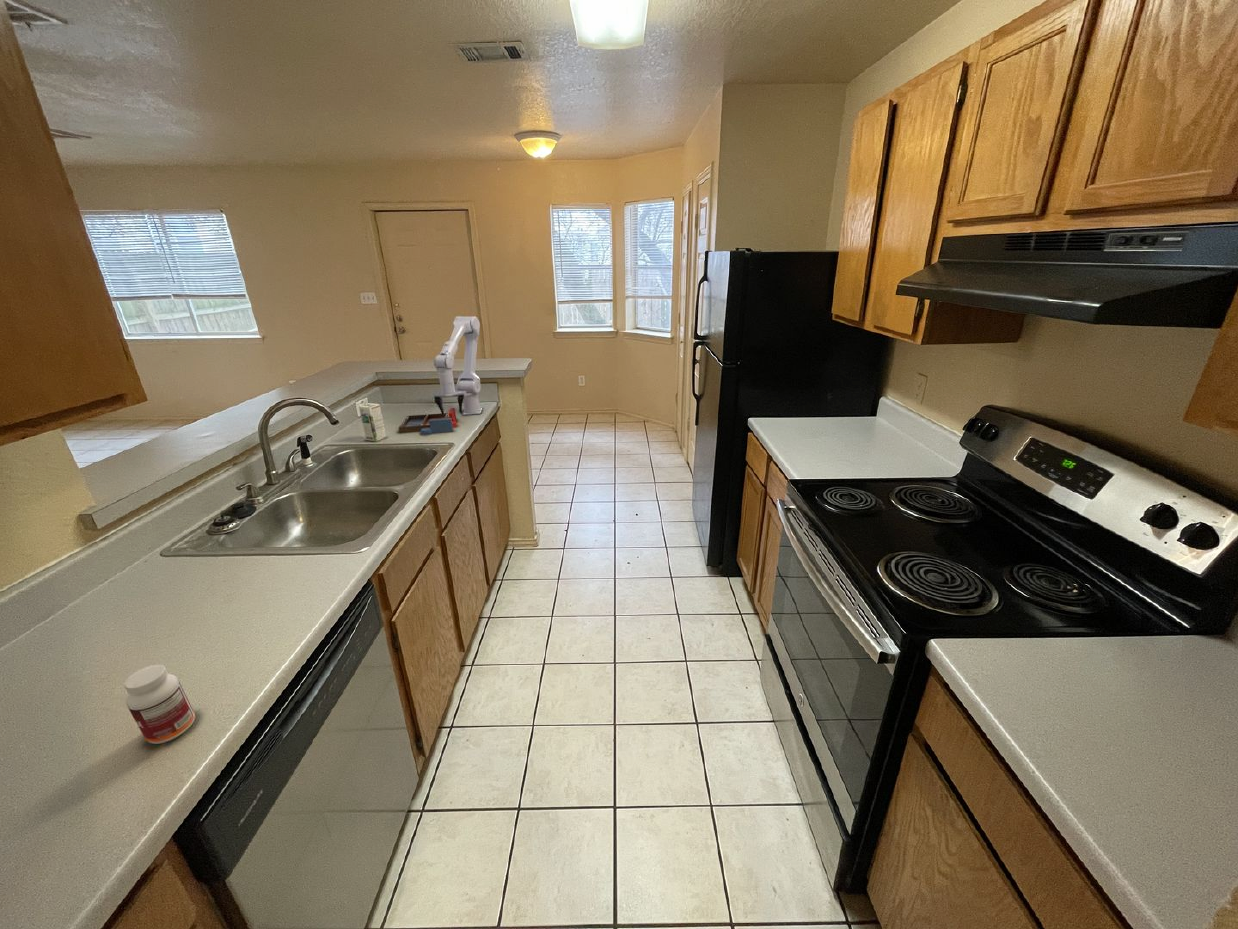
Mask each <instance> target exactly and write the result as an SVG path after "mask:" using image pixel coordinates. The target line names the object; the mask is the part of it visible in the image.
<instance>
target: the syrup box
mask: <svg viewBox="0 0 1238 929" xmlns="http://www.w3.org/2000/svg"><path fill="white" fill-rule="evenodd" d="M358 409H359V414H360V418H361V423H362V427H363V428H362V429H363V431H364V437H365V440H366V441H370V442H378V441H381V440H383V439H385V438H387V433H386V429H385V424H384V419H383V414H382V410H381V405H380V403H372V402H369V403H363V404H361V405H358Z"/></svg>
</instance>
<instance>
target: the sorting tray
mask: <svg viewBox="0 0 1238 929" xmlns="http://www.w3.org/2000/svg"><path fill="white" fill-rule="evenodd" d="M448 413H449V412H444V414H442V413H441V412H440V413H428V414H427V413H425V414H415V415H407V416H406V417H405V419H403V421H402V422H401V424H400V425H399V426H398V430H399V434H403V433H404V434H405V433H415V432H416V433H418V432H421V429H423V428H430V425H429V420H433V419H446V418H449V414H448Z"/></svg>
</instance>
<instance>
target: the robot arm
mask: <svg viewBox="0 0 1238 929" xmlns="http://www.w3.org/2000/svg"><path fill="white" fill-rule="evenodd" d="M480 327H481V322H480V321H479V319H478V317H477V316H475V315H474V316H459V315H457V316H455V318H454V320H453V331H452V333H451V335H450V338H449V340H447V341H445V342H444V344H443V346H442V349H441V350H440V353H439V354H437V355H435V357H434V359H433V366H434V367H435V369H436V372H437V373H438V380H439V384H440V385H439V386H440V390H441V391H440V392H433V393H431V394H430V396H431V400H432V399H434V400H433V401H434V402H435V404H436V406H437V407H438V408H439V410H440V413H442V414H444V413H445V410H444V406H443V399H444V398H456V397H457V399H456V400H457V403H458V411H459V414H462V415H463V416H467V415H470V416H471V415H480V414H481V413H482V407H481V406H480V401H479V394H480V392H481V388H482V386H481V378H480V377H479V376H478V375H477V374H476V366H477V353H478V352H477V350H478V338H479V336H480ZM462 337H464V338H465V346H464V358H463V369H462V370H463V371H462V373H461V374H459V375H458V378H457V382H456V384H455V381H454V374H453V369H452V368H453V367H454V365H455V356H456V354H457V352H458V351H459V345H458V344H459V342H460V340H462ZM455 385H456V387H455Z"/></svg>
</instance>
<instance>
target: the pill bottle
mask: <svg viewBox="0 0 1238 929" xmlns="http://www.w3.org/2000/svg"><path fill="white" fill-rule="evenodd" d="M123 686H124V688H125V690H126V692H127V693H128V694H127V695H126V698H125V705H126V707H127V709H128V710H129V713H130V714H131V716H132V718H133V719H134V722H135V723H136V724H137V727H138V729H139V730H140V732H141V734H142V735H143V738H144V739H145V741H146V742H148V743H149V744H154V745H159V744H164V743H167V742H170V741H172V740H174V739H176V738H178V737H179V736H181V735H183V734H184V733H185V732H186V731H188V730H189V728H191V727H192V725H193V723H194V721H195V719H196V713H195V711H194V709H193V707H192V705H191V703H190V701H189V699H188V696H187V694H186V692H185V690H184V688H183V686H182V684H181V682H180V680H179V678H178V677H177V676H175V675H174V674H171V673H168V671H167V669H166V667H165V666H164V665H162V664H151V665H149V666H145V667H142V668H141V669H139V670H137V671H135V672H134V673H132V674H131V675H130V676H129V677H127V678H126V680H125V681H124V685H123Z"/></svg>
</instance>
